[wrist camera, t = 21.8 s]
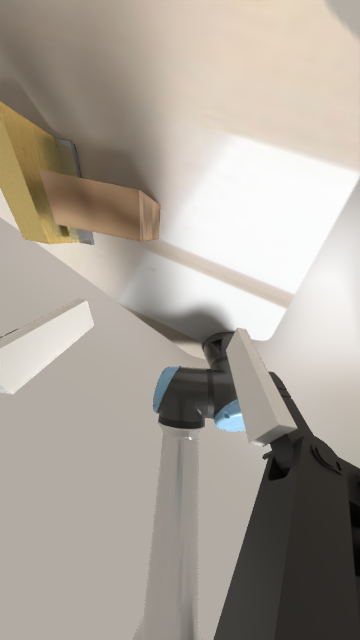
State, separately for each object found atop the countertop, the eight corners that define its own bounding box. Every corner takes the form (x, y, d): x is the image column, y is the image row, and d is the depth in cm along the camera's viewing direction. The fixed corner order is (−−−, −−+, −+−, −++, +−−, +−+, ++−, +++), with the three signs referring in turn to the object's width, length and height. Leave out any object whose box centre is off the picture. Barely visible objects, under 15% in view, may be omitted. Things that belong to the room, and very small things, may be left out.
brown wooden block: (158, 238, 30) (140, 241, 21) (100, 227, 30) (56, 224, 21) (160, 205, 27) (139, 189, 17) (95, 192, 27) (38, 169, 17)
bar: (79, 241, 31) (48, 244, 25) (60, 237, 32) (24, 239, 25) (53, 137, 22) (-7, 96, 16) (26, 131, 22) (-46, 89, 16)
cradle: (94, 244, 32) (80, 245, 29) (52, 235, 32) (33, 236, 29) (74, 144, 23) (51, 127, 20) (16, 132, 23) (-18, 113, 20)
